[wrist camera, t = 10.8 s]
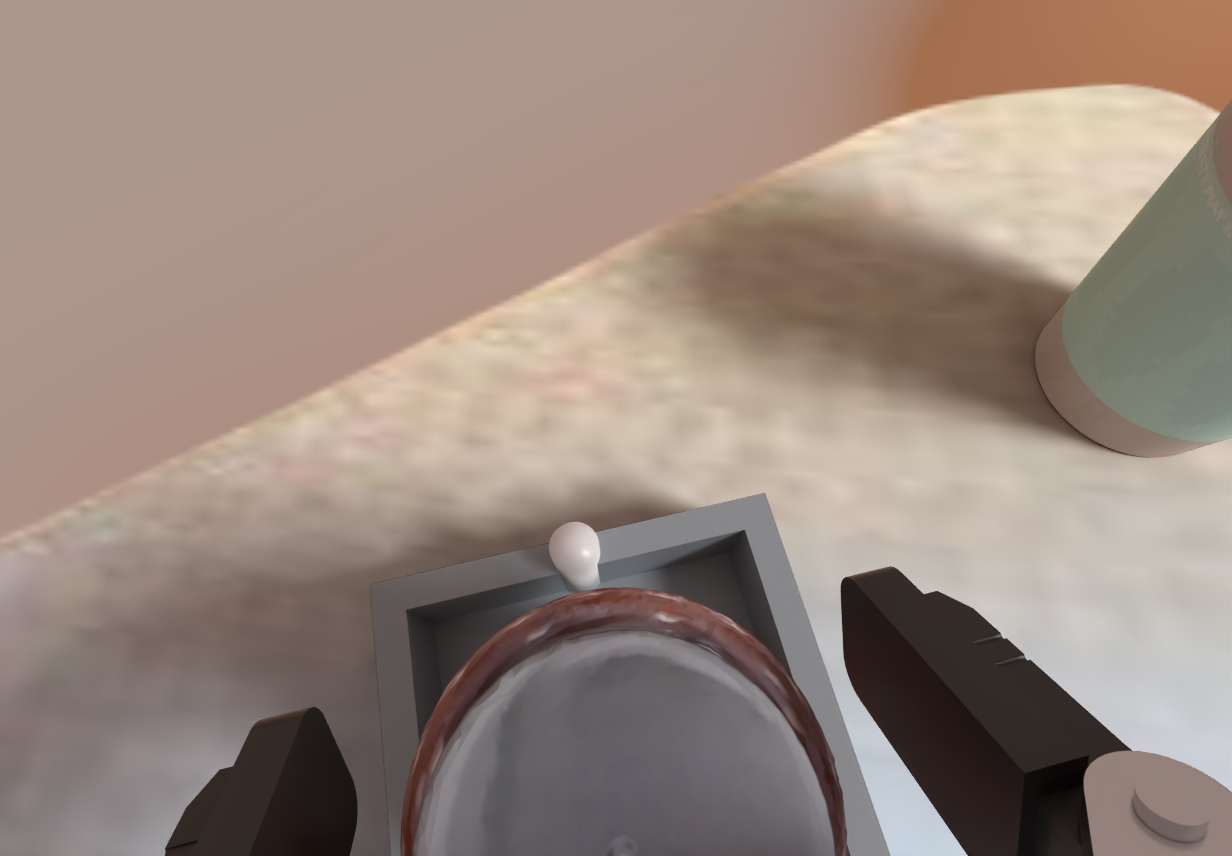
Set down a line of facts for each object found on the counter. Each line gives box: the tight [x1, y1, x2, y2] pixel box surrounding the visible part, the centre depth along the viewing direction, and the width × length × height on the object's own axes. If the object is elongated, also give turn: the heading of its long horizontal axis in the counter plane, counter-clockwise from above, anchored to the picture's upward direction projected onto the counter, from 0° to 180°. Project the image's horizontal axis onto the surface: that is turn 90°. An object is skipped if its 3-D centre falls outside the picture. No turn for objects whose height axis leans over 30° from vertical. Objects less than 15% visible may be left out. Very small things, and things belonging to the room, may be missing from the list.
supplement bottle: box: [400, 587, 847, 856], centre depth 11 cm, size 6×6×11 cm
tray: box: [370, 493, 890, 856], centre depth 15 cm, size 10×10×4 cm
